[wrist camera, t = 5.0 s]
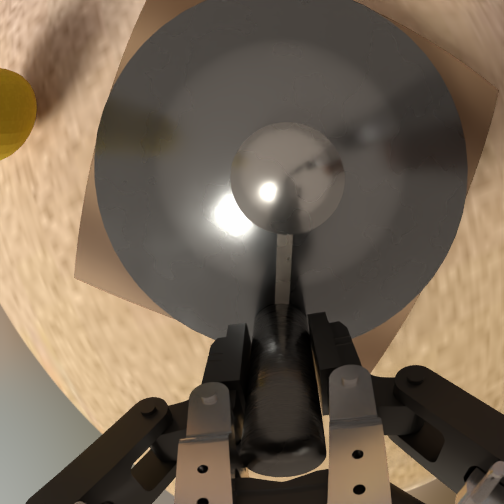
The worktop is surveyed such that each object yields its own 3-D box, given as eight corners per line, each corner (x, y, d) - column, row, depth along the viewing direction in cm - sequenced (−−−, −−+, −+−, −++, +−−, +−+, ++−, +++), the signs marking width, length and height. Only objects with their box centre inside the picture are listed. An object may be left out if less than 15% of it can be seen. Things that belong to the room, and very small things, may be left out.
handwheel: (114, 18, 11) (-6, -46, 3) (448, 29, 10) (566, -22, 2) (131, 323, 16) (56, 440, 8) (420, 330, 16) (489, 446, 8)
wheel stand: (180, -23, 12) (167, -43, 10) (474, 93, 13) (500, 90, 11) (94, 261, 18) (73, 278, 16) (359, 352, 20) (368, 377, 17)
